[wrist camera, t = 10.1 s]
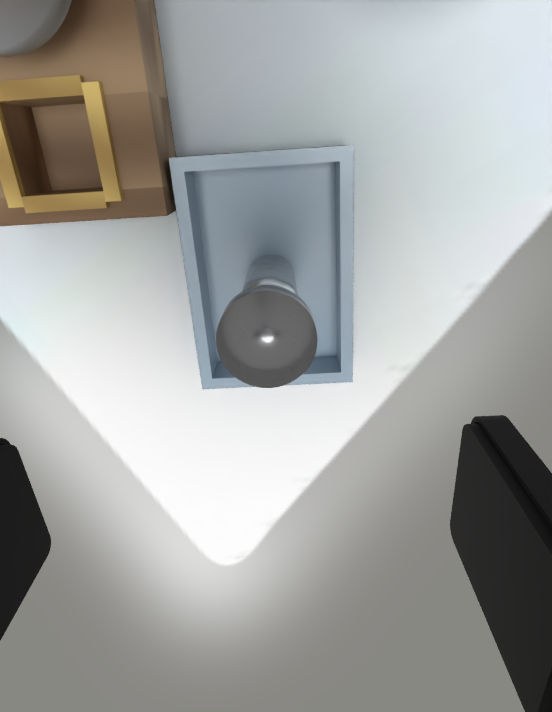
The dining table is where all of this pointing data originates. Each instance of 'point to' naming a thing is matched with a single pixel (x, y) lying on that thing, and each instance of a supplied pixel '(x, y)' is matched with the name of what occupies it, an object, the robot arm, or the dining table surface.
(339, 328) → the tray
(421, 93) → the dining table surface
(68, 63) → the block
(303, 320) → the lock pin
